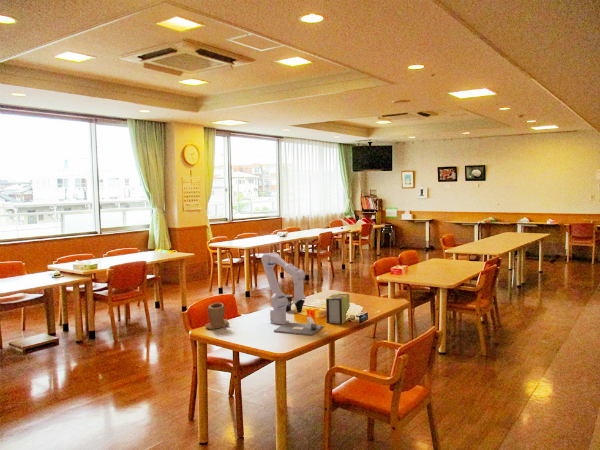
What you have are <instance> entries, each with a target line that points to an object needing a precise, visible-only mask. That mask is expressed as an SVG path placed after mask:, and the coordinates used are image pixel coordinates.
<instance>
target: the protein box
mask: <svg viewBox="0 0 600 450" xmlns="http://www.w3.org/2000/svg"><path fill="white" fill-rule="evenodd" d="M325 303H326V309H325V311H326V323H327V324H337V325H344V324H345V323H346V322H347V321H346V313H347V311H348V309H349V307H350V305H351V304H350V293H338V292H337V293H336V292H335V293H332V294H331V295H329V296H328V297H327V298H325ZM345 321H346V322H345Z"/></svg>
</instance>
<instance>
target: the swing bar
mask: <svg viewBox="0 0 600 450" xmlns="http://www.w3.org/2000/svg"><path fill="white" fill-rule="evenodd" d="M306 322H307V324H309V326H310V327H311V330H316V325H317V323H315V321H314V319H313V318H312V316H307V317H306Z"/></svg>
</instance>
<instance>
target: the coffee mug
mask: <svg viewBox="0 0 600 450" xmlns="http://www.w3.org/2000/svg"><path fill="white" fill-rule="evenodd" d="M285 296H286V298H287V299H288V305H287V308H286V312H291V310H292V305H293V304H294V303H293V299H294V296H293V295H292V294H285Z"/></svg>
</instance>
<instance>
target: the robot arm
mask: <svg viewBox="0 0 600 450" xmlns="http://www.w3.org/2000/svg"><path fill="white" fill-rule="evenodd" d="M260 260H261V263H262V265H263V270H264V273H265V277H266V279H267V282H268V285H269V288H270V290H271V294H272V295H271V297H270V302H271V303H270V305H271V307H272V308H270V312H269V313H270V314H269V317H270V318H269V319H270V320H269V323H270V324H276V325H283V324H285V323H286V322H288V323H289V319H287V311H286V308H287V305H288V299H287V298H286V296H285V295H286V294H285V293H283V292H282V291H281V288H280V285H279V283H278V279H277V276H276V274H275V271H274V267H275V266H276V265H278V266H280V267H282V268H283V269H284V271H285V272H286V273H287V274H288V275H290V276H291V279H292V283H293V294H294V297H293V298H292V303H293V304H294V306H295V308H296V312H297V313H299V314H301V313H302V311H303V307H304V304H305V302H306V301H305V300H306V294H304V293H305V290H304V289H305V288H304V287H305V286H304V284H305V283H304V279H305V277H306V272H305V270H304V269H299V268H298V267H296V266H295V265H294V264H293V263H288V262H286V261H285V260H284V259H283V258H282V257H281V255H280V254H279V253H278V252H276V251H273V252H269V253H263V254H262V256H261V259H260Z"/></svg>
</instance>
